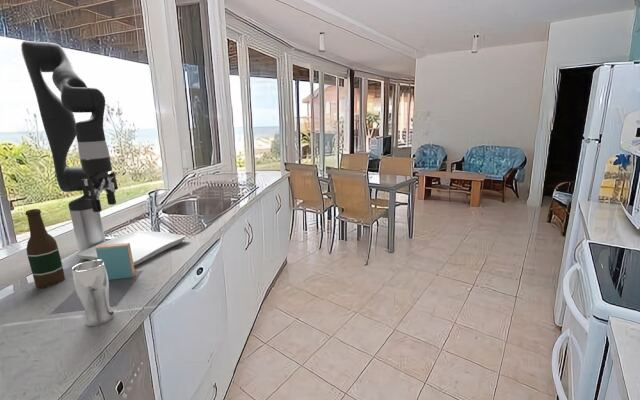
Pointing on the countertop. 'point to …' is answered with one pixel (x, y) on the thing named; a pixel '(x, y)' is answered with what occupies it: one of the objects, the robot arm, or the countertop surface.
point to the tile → (117, 260)
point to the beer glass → (93, 291)
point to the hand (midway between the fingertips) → (105, 207)
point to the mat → (115, 295)
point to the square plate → (139, 244)
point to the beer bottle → (43, 253)
